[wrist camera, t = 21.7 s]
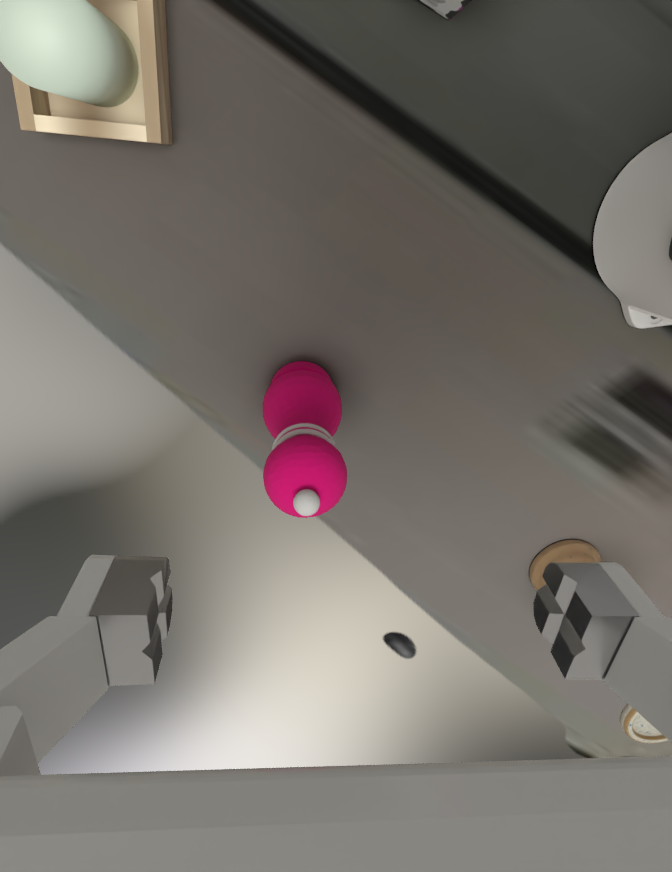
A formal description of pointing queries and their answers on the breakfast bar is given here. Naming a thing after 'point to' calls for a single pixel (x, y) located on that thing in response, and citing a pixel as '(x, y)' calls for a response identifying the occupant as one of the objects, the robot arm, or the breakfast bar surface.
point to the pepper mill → (303, 441)
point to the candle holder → (587, 553)
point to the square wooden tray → (140, 114)
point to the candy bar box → (446, 6)
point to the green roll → (68, 50)
